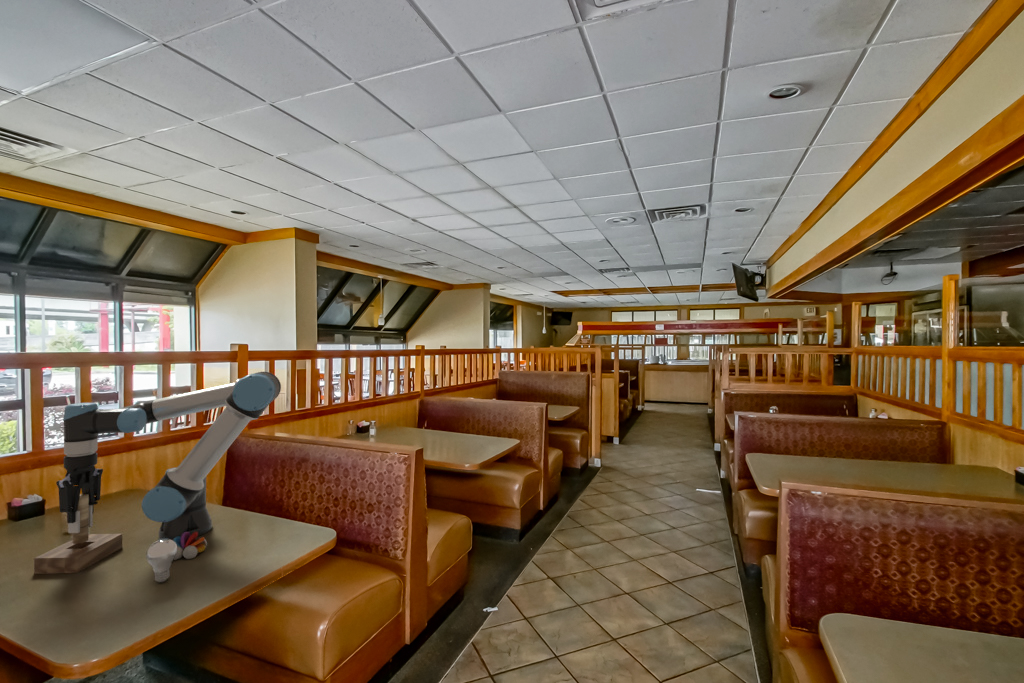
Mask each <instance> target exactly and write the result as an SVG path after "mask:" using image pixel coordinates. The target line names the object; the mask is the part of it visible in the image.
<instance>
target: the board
mask: <svg viewBox="0 0 1024 683" xmlns="http://www.w3.org/2000/svg"><path fill="white" fill-rule="evenodd" d="M122 548H123V533H89V540H88V541H86V542H83V543H78V544H73V543H72V539H71V540H69V541H67V542H65V543H63V544H61V545H59V546H57V547H55V548H53V549H50V550H48V551H46V552H45V553H43V554H40V555H37V556H36V557H34V558H33V560H34V561H33V565H34V566H33V567H34V568H33V573H34V575H35V574H36V575H37V574H41V575H43V574H44V575H45V574H77V573H79V572H81V571H84V570H85V569H87V568H90V566H92V565H94V564H95V563H97V562H99V561H101V560H103V559H104V558H106V557H108V556H110V555H111V554H114V553H115V552H116V551H117V552H118V551H119V550H120V549H122Z"/></svg>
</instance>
